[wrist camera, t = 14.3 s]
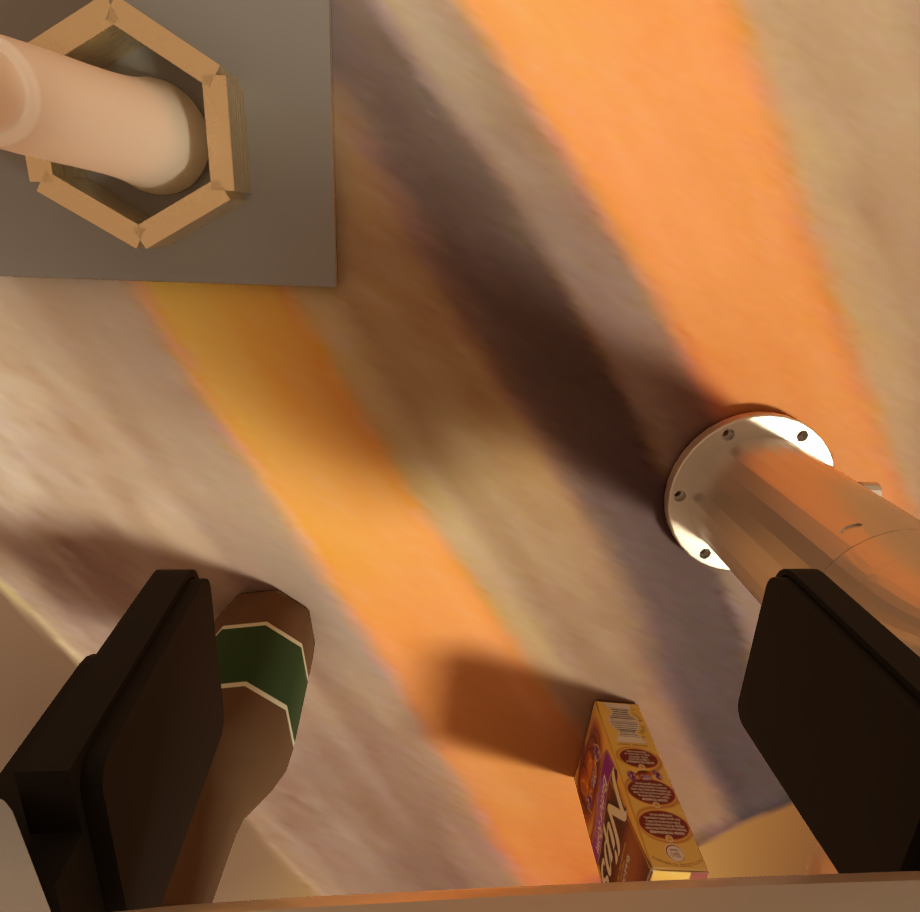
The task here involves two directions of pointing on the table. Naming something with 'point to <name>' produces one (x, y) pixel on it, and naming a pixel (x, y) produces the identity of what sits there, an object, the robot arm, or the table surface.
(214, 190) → the wooden hex collar
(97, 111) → the cosmetic bottle
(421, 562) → the table surface
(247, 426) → the table surface
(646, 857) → the candy box
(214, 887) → the beer bottle
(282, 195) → the slate board
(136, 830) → the robot arm
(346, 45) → the table surface
